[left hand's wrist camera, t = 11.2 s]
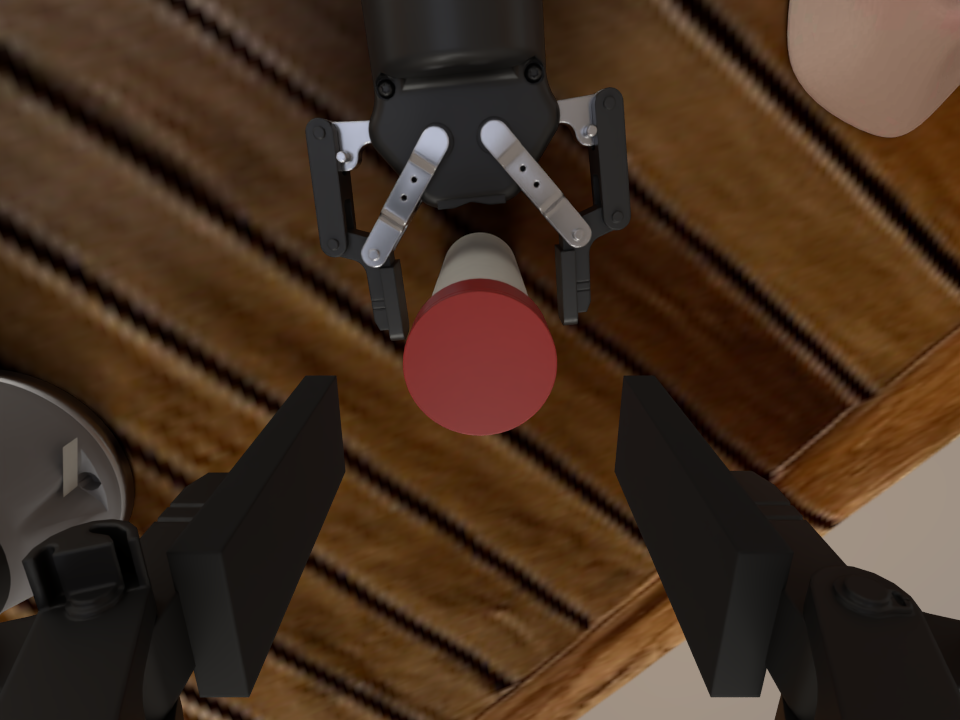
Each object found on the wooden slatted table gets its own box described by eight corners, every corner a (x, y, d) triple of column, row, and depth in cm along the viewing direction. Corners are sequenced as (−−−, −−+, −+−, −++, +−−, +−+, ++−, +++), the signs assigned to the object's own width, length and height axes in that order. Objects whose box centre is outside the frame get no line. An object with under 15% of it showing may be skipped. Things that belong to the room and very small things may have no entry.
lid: (574, 371, 20) (583, 393, 18) (455, 432, 21) (453, 459, 19) (507, 250, 19) (510, 261, 17) (382, 322, 20) (372, 340, 18)
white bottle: (529, 283, 34) (569, 384, 19) (466, 318, 35) (457, 442, 20) (493, 218, 32) (505, 272, 17) (429, 256, 33) (388, 339, 18)
